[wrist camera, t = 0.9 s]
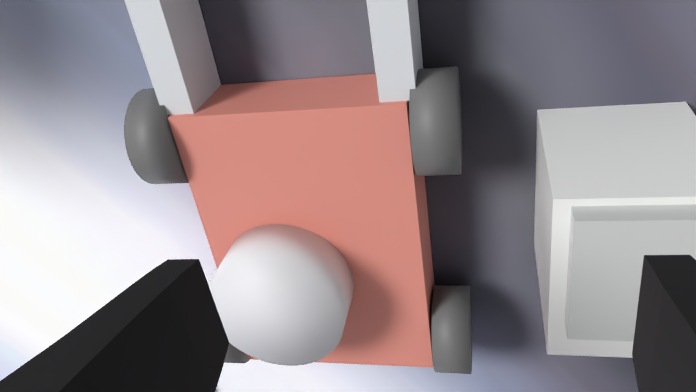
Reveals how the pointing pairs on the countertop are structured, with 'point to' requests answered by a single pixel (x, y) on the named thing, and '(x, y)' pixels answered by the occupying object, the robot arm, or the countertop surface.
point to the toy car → (311, 192)
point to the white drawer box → (608, 216)
